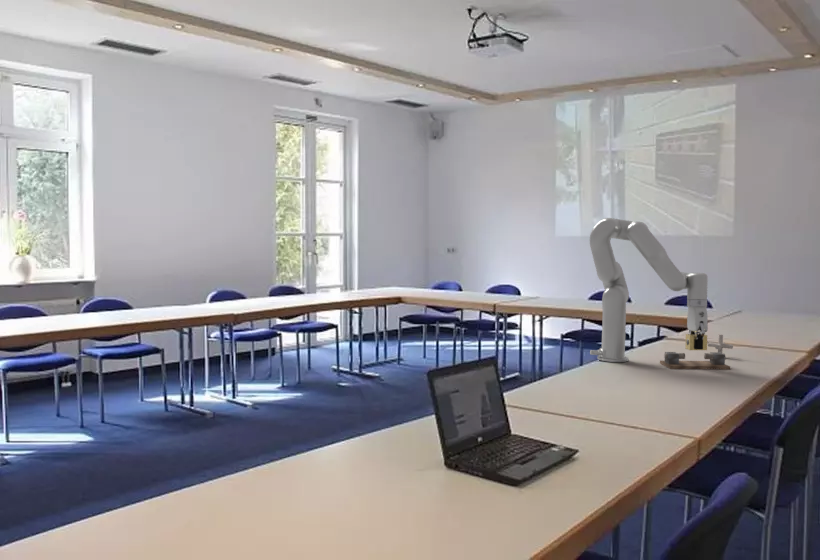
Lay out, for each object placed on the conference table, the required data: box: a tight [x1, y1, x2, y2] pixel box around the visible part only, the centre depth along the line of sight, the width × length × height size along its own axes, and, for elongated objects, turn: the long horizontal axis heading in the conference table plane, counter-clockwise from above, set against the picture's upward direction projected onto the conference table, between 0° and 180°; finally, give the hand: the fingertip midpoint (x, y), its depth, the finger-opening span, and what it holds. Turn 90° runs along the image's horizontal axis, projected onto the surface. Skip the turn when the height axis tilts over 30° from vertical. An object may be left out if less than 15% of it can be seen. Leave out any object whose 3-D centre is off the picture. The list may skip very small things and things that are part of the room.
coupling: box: [684, 333, 708, 351], centre depth 301 cm, size 7×4×6 cm, turn 91°
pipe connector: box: [707, 333, 734, 353], centre depth 324 cm, size 10×10×10 cm
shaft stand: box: [659, 351, 731, 370], centre depth 301 cm, size 24×12×5 cm, turn 91°
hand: (696, 347), depth 301 cm, fingers closed on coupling, 4 cm apart
